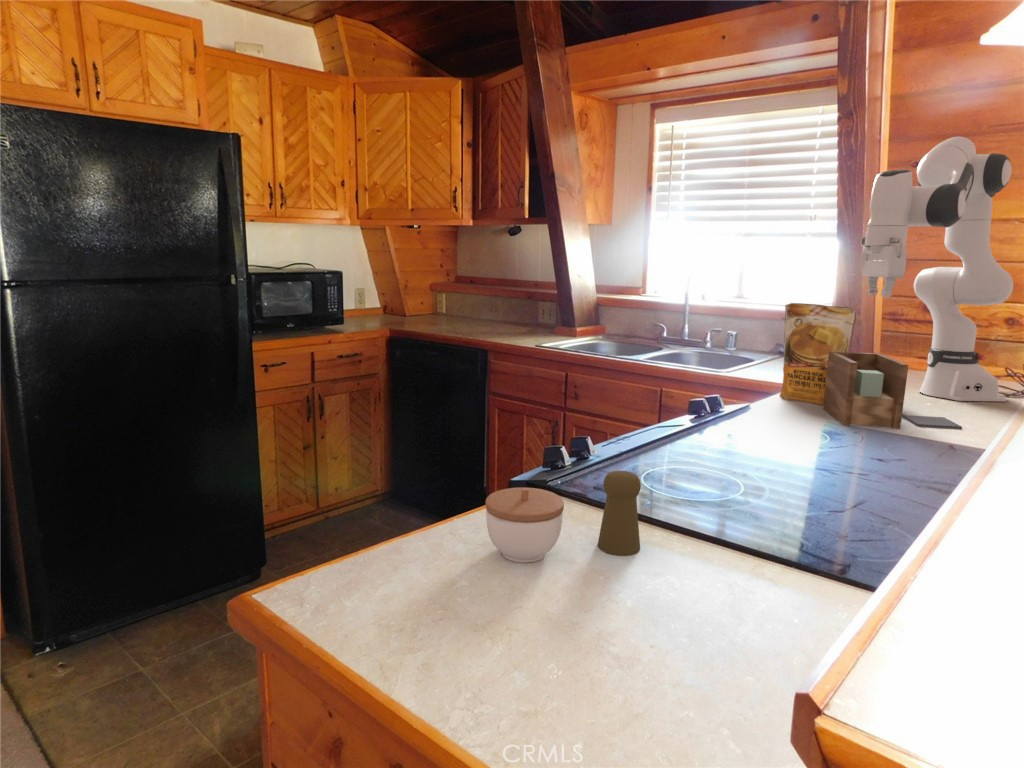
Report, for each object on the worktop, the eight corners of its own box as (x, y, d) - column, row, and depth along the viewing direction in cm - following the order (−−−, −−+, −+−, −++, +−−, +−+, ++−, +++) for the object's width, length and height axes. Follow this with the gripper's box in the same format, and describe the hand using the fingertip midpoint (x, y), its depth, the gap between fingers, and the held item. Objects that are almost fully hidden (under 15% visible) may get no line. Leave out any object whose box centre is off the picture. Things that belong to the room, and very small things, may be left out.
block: (874, 393, 174) (877, 370, 173) (881, 397, 170) (884, 373, 168) (853, 392, 175) (856, 369, 174) (859, 396, 170) (862, 372, 169)
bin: (873, 411, 186) (880, 353, 183) (900, 429, 167) (908, 364, 164) (822, 408, 188) (829, 351, 185) (843, 425, 169) (851, 362, 166)
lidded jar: (537, 532, 101) (538, 472, 100) (577, 561, 92) (579, 495, 90) (472, 545, 96) (472, 482, 95) (507, 577, 87) (508, 508, 85)
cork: (622, 535, 101) (626, 464, 99) (649, 550, 96) (653, 476, 94) (589, 542, 98) (592, 469, 96) (614, 559, 93) (618, 482, 91)
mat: (943, 419, 178) (944, 417, 178) (961, 429, 168) (961, 426, 168) (902, 417, 179) (902, 415, 179) (917, 426, 170) (918, 424, 170)
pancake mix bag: (781, 394, 206) (790, 302, 201) (847, 405, 193) (858, 306, 188) (771, 397, 202) (780, 303, 196) (838, 408, 188) (849, 307, 183)
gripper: (917, 237, 154) (909, 298, 157) (885, 240, 174) (878, 294, 177) (887, 237, 156) (879, 298, 158) (858, 239, 175) (852, 293, 178)
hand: (879, 296), depth 168 cm, fingers open, 8 cm apart
